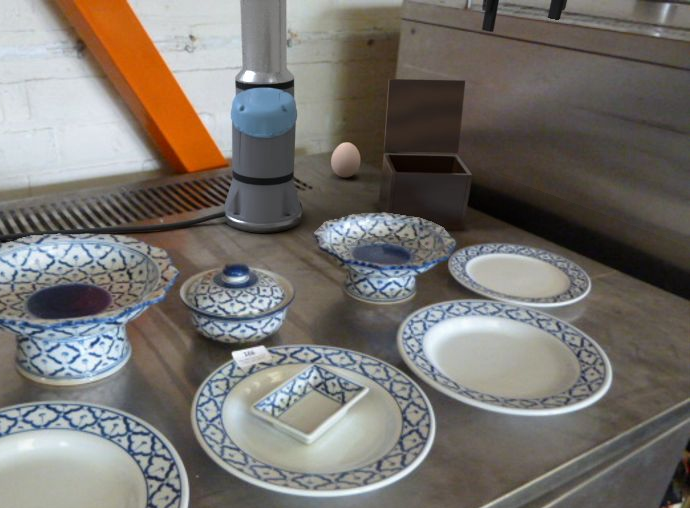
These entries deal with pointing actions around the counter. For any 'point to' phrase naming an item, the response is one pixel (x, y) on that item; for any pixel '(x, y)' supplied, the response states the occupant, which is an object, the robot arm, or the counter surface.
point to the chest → (426, 188)
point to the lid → (424, 115)
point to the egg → (345, 160)
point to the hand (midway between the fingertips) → (519, 30)
